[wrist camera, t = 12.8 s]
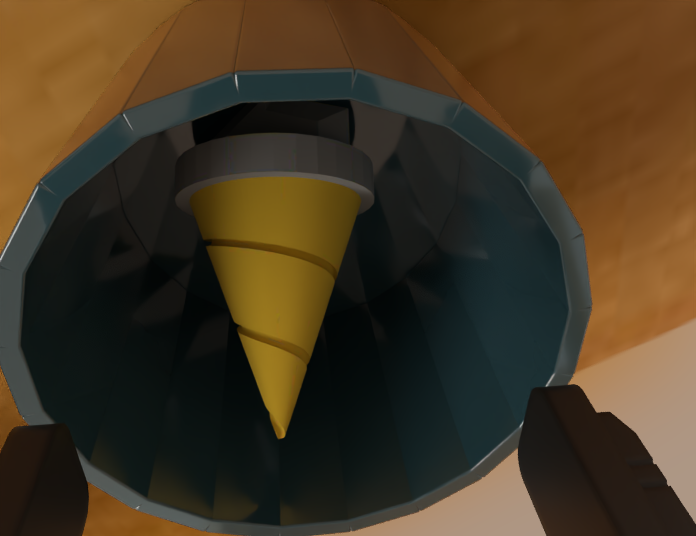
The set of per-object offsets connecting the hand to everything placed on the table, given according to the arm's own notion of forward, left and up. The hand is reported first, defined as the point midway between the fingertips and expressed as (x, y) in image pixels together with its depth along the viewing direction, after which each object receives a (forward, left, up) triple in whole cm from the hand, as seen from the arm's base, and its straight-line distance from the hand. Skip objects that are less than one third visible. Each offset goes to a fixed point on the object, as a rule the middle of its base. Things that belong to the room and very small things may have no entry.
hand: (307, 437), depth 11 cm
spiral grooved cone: (0, 0, -11) cm, 11 cm away
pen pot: (0, 0, -11) cm, 11 cm away
